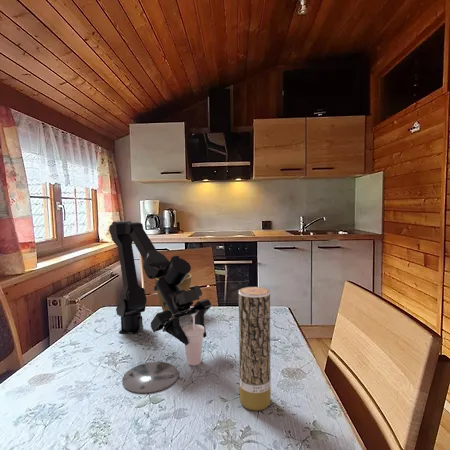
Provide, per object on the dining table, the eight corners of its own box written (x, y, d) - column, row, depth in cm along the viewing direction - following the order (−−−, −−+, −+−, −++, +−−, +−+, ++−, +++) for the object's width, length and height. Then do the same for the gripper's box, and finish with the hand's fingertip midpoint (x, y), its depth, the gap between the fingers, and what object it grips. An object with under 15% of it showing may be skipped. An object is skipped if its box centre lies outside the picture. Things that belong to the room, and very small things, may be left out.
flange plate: (111, 391, 74) (111, 388, 74) (136, 362, 87) (136, 359, 87) (168, 395, 72) (168, 392, 72) (185, 365, 85) (184, 362, 85)
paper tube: (273, 396, 71) (272, 288, 69) (267, 415, 64) (266, 296, 63) (244, 391, 73) (243, 286, 72) (236, 408, 66) (234, 293, 65)
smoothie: (187, 370, 83) (186, 318, 82) (179, 359, 88) (178, 311, 88) (209, 364, 86) (208, 314, 85) (199, 354, 91) (199, 308, 91)
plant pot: (148, 318, 122) (147, 278, 122) (166, 307, 137) (165, 271, 136) (182, 322, 118) (181, 280, 117) (197, 310, 132) (197, 273, 131)
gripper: (155, 283, 82) (182, 336, 75) (207, 272, 95) (234, 316, 88) (140, 307, 88) (164, 357, 81) (191, 293, 101) (215, 335, 94)
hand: (196, 340), depth 86 cm, fingers closed on smoothie, 6 cm apart
